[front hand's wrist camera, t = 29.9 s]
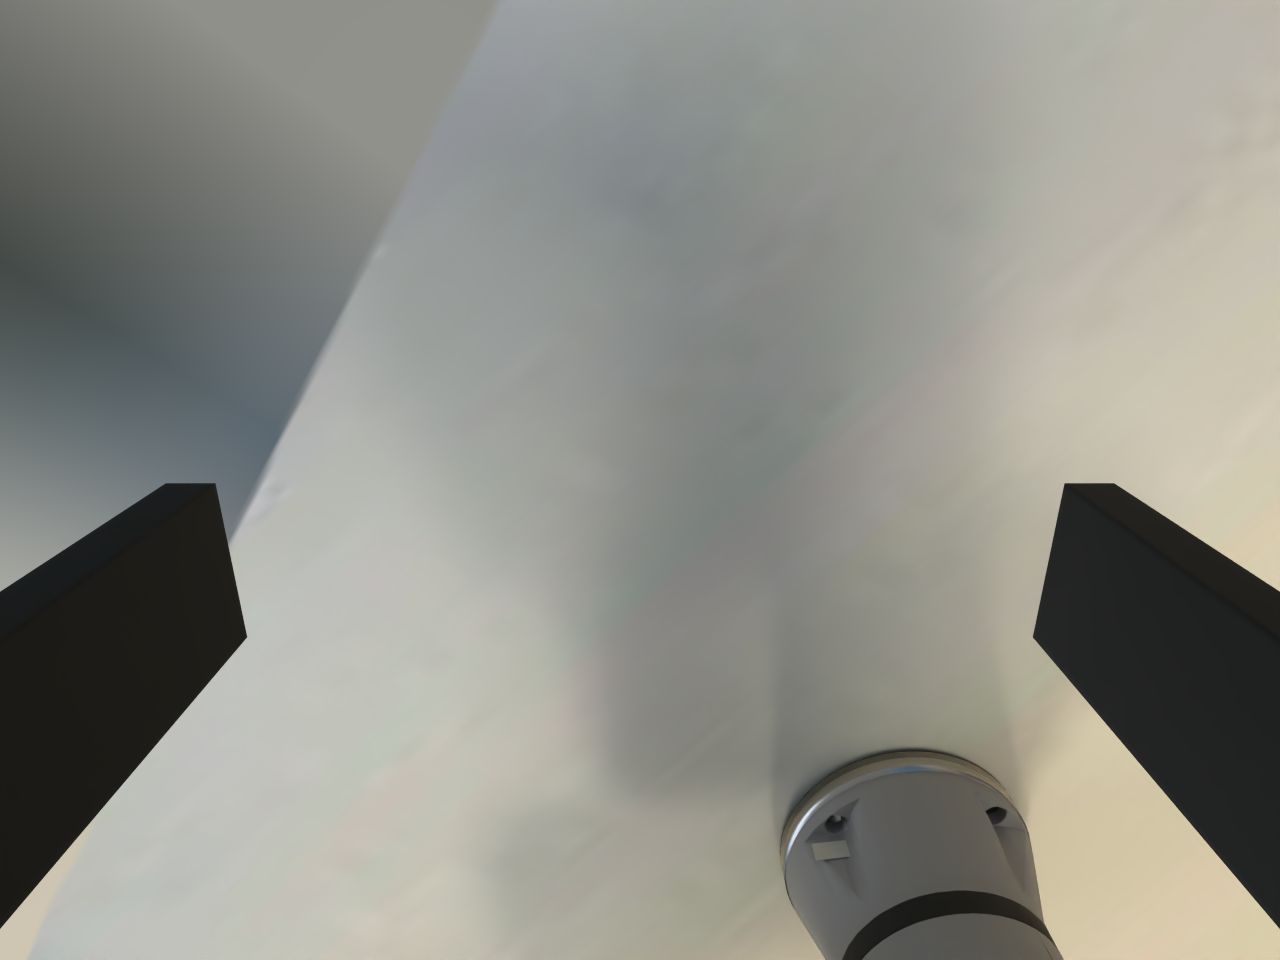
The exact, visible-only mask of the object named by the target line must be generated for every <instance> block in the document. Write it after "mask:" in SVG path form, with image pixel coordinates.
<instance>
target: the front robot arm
mask: <svg viewBox="0 0 1280 960" xmlns="http://www.w3.org/2000/svg"><path fill="white" fill-rule="evenodd" d="M246 638H247V634H246V629H245V625H244V620H243V615H242V610H241V605H240V600H239V596H238V591H237V586H236V581H235V576H234V571H233V567H232V562H231V557H230V552H229V547H228V542H227V537H226V533H225V528H224V523H223V518H222V513H221V509H220V504H219V499H218V494H217V489H216V484H215V483H166V484H164V485H163V486H161V487H160V488H158V489H157V490H155V491H153V492H152V493H151V494H149V495H147V496H146V497H144V498H143V499H141V500H140V501H138V502H137V503H135V504H134V505H132V506H131V507H129V508H128V509H126V510H124V511H123V512H121V513H120V514H118V515H117V516H115V517H114V518H112V519H111V520H109V521H108V522H106V523H105V524H103V525H102V526H100V527H98V528H97V529H95V530H94V531H92V532H91V533H89V534H88V535H86V536H85V537H83V538H82V539H80V540H79V541H77V542H76V543H74V544H72V545H71V546H69V547H68V548H66V549H65V550H63V551H62V552H60V553H59V554H57V555H56V556H54V557H53V558H51V559H50V560H48V561H47V562H45V563H43V564H42V565H40V566H39V567H37V568H36V569H34V570H33V571H31V572H30V573H28V574H27V575H25V576H24V577H22V578H21V579H19V580H18V581H16V582H14V583H13V584H11V585H10V586H8V587H7V588H5V589H4V590H2V591H1V592H0V928H1V927H2V926H3V925H4V924H5V922H6V921H7V920H8V919H9V918H10V917H11V915H12V914H13V913H14V912H15V911H16V909H17V908H18V907H19V906H20V905H21V904H22V902H23V901H24V900H25V899H26V898H27V896H28V895H29V894H30V893H31V892H32V891H33V889H34V888H35V887H36V886H37V885H38V884H39V882H40V881H41V880H42V879H43V878H44V876H45V875H46V874H47V873H48V872H49V871H50V869H51V868H52V867H53V866H54V865H55V863H56V862H57V861H58V860H59V859H60V857H61V856H62V855H63V854H64V853H65V852H66V850H67V849H68V848H69V847H70V846H71V845H72V843H73V842H74V841H75V840H76V839H77V837H78V836H79V835H80V834H81V833H82V831H83V830H84V829H85V828H86V827H87V826H88V824H89V823H90V822H91V821H92V820H93V819H94V817H95V816H96V815H97V814H98V813H99V811H100V810H101V809H102V808H103V807H104V806H105V804H106V803H107V802H108V801H109V800H110V798H111V797H112V796H113V795H114V794H115V793H116V791H117V790H118V789H119V788H120V787H121V785H122V784H123V783H124V782H125V781H126V780H127V778H128V777H129V776H130V775H131V774H132V773H133V771H134V770H135V769H136V768H137V767H138V765H139V764H140V763H141V762H142V761H143V760H144V758H145V757H146V756H147V755H148V754H149V752H150V751H151V750H152V749H153V748H154V747H155V745H156V744H157V743H158V742H159V741H160V739H161V738H162V737H163V736H164V735H165V734H166V732H167V731H168V730H169V729H170V728H171V726H172V725H173V724H174V723H175V722H176V721H177V719H178V718H179V717H180V716H181V715H182V713H183V712H184V711H185V710H186V709H187V708H188V706H189V705H190V704H191V703H192V702H193V700H194V699H195V698H196V697H197V696H198V695H199V693H200V692H201V691H202V690H203V689H204V687H205V686H206V685H207V684H208V683H209V682H210V680H211V679H212V678H213V677H214V676H215V674H216V673H217V672H218V671H219V670H220V669H221V667H222V666H223V665H224V664H225V663H226V662H227V660H228V659H229V658H230V657H231V656H232V654H233V653H234V652H235V651H236V650H237V649H238V647H239V646H240V645H241V644H242V643H243V641H244V640H245V639H246ZM1033 638H1034V639H1035V640H1036V641H1037V643H1038V644H1039V645H1040V646H1041V647H1042V649H1043V650H1044V651H1045V652H1046V653H1047V654H1048V656H1049V657H1050V658H1051V659H1052V660H1053V662H1054V663H1055V664H1056V665H1057V666H1058V667H1059V669H1060V670H1061V671H1062V672H1063V673H1064V674H1065V676H1066V677H1067V678H1068V679H1069V680H1070V682H1071V683H1072V684H1073V685H1074V686H1075V687H1076V689H1077V690H1078V691H1079V692H1080V693H1081V695H1082V696H1083V697H1084V698H1085V699H1086V700H1087V702H1088V703H1089V704H1090V705H1091V706H1092V708H1093V709H1094V710H1095V711H1096V712H1097V713H1098V715H1099V716H1100V717H1101V718H1102V719H1103V721H1104V722H1105V723H1106V724H1107V725H1108V726H1109V728H1110V729H1111V730H1112V731H1113V732H1114V734H1115V735H1116V736H1117V737H1118V738H1119V739H1120V741H1121V742H1122V743H1123V744H1124V745H1125V747H1126V748H1127V749H1128V750H1129V751H1130V752H1131V754H1132V755H1133V756H1134V757H1135V758H1136V760H1137V761H1138V762H1139V763H1140V764H1141V765H1142V767H1143V768H1144V769H1145V770H1146V771H1147V773H1148V774H1149V775H1150V776H1151V777H1152V778H1153V780H1154V781H1155V782H1156V783H1157V784H1158V785H1159V787H1160V788H1161V789H1162V790H1163V791H1164V793H1165V794H1166V795H1167V796H1168V797H1169V798H1170V800H1171V801H1172V802H1173V803H1174V804H1175V806H1176V807H1177V808H1178V809H1179V810H1180V811H1181V813H1182V814H1183V815H1184V816H1185V817H1186V819H1187V820H1188V821H1189V822H1190V823H1191V824H1192V826H1193V827H1194V828H1195V829H1196V830H1197V832H1198V833H1199V834H1200V835H1201V836H1202V837H1203V839H1204V840H1205V841H1206V842H1207V843H1208V845H1209V846H1210V847H1211V848H1212V849H1213V850H1214V852H1215V853H1216V854H1217V855H1218V856H1219V858H1220V859H1221V860H1222V861H1223V862H1224V863H1225V865H1226V866H1227V867H1228V868H1229V869H1230V871H1231V872H1232V873H1233V874H1234V875H1235V876H1236V878H1237V879H1238V880H1239V881H1240V882H1241V884H1242V885H1243V886H1244V887H1245V888H1246V889H1247V891H1248V892H1249V893H1250V894H1251V895H1252V896H1253V898H1254V899H1255V900H1256V901H1257V902H1258V904H1259V905H1260V906H1261V907H1262V908H1263V909H1264V911H1265V912H1266V913H1267V914H1268V915H1269V917H1270V918H1271V919H1272V920H1273V921H1274V922H1275V924H1276V925H1277V926H1278V927H1279V928H1280V592H1279V591H1278V590H1276V589H1275V588H1273V587H1272V586H1270V585H1269V584H1267V583H1266V582H1264V581H1263V580H1261V579H1260V578H1258V577H1256V576H1255V575H1253V574H1252V573H1250V572H1249V571H1247V570H1246V569H1244V568H1243V567H1241V566H1240V565H1238V564H1237V563H1235V562H1234V561H1232V560H1230V559H1229V558H1227V557H1226V556H1224V555H1223V554H1221V553H1220V552H1218V551H1217V550H1215V549H1214V548H1212V547H1211V546H1209V545H1208V544H1206V543H1204V542H1203V541H1201V540H1200V539H1198V538H1197V537H1195V536H1194V535H1192V534H1191V533H1189V532H1188V531H1186V530H1185V529H1183V528H1182V527H1180V526H1178V525H1177V524H1175V523H1174V522H1172V521H1171V520H1169V519H1168V518H1166V517H1165V516H1163V515H1162V514H1160V513H1159V512H1157V511H1156V510H1154V509H1153V508H1151V507H1149V506H1148V505H1146V504H1145V503H1143V502H1142V501H1140V500H1139V499H1137V498H1136V497H1134V496H1133V495H1131V494H1130V493H1128V492H1127V491H1125V490H1123V489H1122V488H1120V487H1119V486H1117V485H1116V484H1114V483H1065V484H1064V489H1063V494H1062V499H1061V504H1060V508H1059V513H1058V518H1057V523H1056V528H1055V533H1054V537H1053V542H1052V547H1051V552H1050V557H1049V562H1048V567H1047V571H1046V576H1045V581H1044V586H1043V591H1042V596H1041V600H1040V605H1039V610H1038V615H1037V620H1036V625H1035V629H1034V634H1033ZM780 855H781V865H782V870H783V874H784V879H785V884H786V889H787V893H788V896H789V899H790V901H791V903H792V905H793V907H794V909H795V911H796V913H797V915H798V916H799V918H800V919H801V921H802V923H803V924H804V926H805V927H806V929H807V931H808V932H809V934H810V935H811V937H812V939H813V940H814V942H815V943H816V945H817V947H818V948H819V950H820V951H821V953H822V955H823V956H824V958H825V959H826V960H1064V959H1063V957H1062V956H1061V954H1060V952H1059V950H1058V949H1057V947H1056V945H1055V943H1054V941H1053V939H1052V937H1051V936H1050V934H1049V932H1048V930H1047V928H1046V926H1045V924H1044V920H1043V914H1042V908H1041V902H1040V896H1039V889H1038V883H1037V877H1036V871H1035V865H1034V859H1033V853H1032V847H1031V842H1030V838H1029V833H1028V830H1027V827H1026V825H1025V823H1024V821H1023V819H1022V817H1021V815H1020V814H1019V812H1018V810H1017V809H1016V807H1015V805H1014V803H1013V802H1012V800H1011V798H1010V797H1009V795H1008V794H1007V792H1006V791H1005V789H1004V788H1003V787H1002V786H1001V785H1000V784H999V783H998V782H997V781H996V780H995V779H994V778H993V777H992V776H991V775H989V774H988V773H986V772H985V771H984V770H982V769H980V768H979V767H977V766H975V765H973V764H971V763H969V762H967V761H964V760H962V759H959V758H956V757H953V756H949V755H944V754H939V753H933V752H921V751H905V752H894V753H888V754H882V755H878V756H874V757H870V758H866V759H863V760H861V761H858V762H855V763H853V764H850V765H848V766H846V767H844V768H842V769H840V770H838V771H836V772H834V773H833V774H831V775H830V776H828V777H827V778H825V779H824V780H822V781H821V782H820V783H818V784H817V785H816V786H815V787H814V788H813V789H811V790H810V791H809V792H808V793H807V794H806V795H805V796H804V798H803V799H802V800H801V801H800V802H799V804H798V805H797V806H796V808H795V809H794V811H793V812H792V814H791V816H790V817H789V820H788V822H787V824H786V826H785V829H784V833H783V836H782V841H781V851H780Z"/></svg>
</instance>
